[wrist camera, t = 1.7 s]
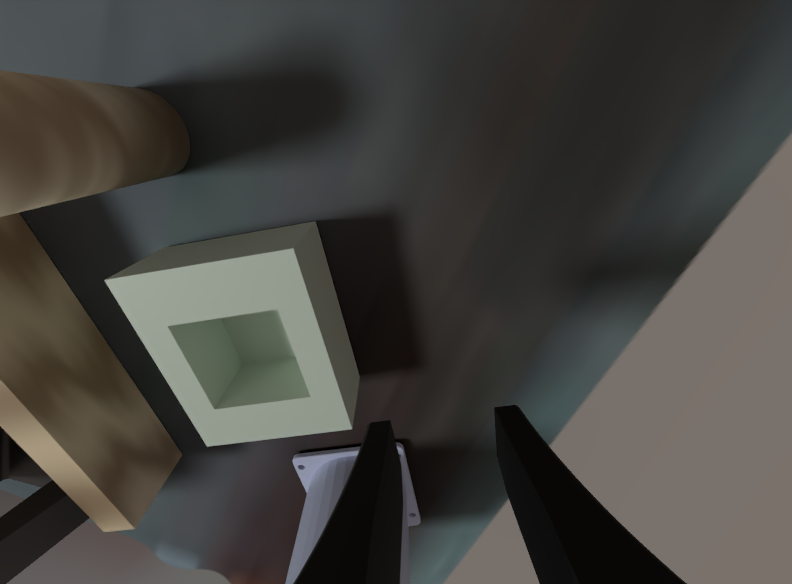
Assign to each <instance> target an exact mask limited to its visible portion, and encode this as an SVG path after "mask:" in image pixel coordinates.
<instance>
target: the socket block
mask: <svg viewBox="0 0 792 584" xmlns="http://www.w3.org/2000/svg"><path fill="white" fill-rule="evenodd" d="M104 281H105V282H106V284H107V286H108V287H109V289H110V291H111V292H112V294H113V295H114V297H115V299H116V300H117V302H118V303H119V305H120V307H121V308H122V310H123V312H124V313H125V315H126V316H127V318H128V320H129V321H130V323H131V325H132V326H133V328H134V329H135V331H136V333H137V334H138V336H139V337H140V339H141V341H142V342H143V344H144V346H145V347H146V349H147V350H148V352H149V354H150V355H151V357H152V358H153V360H154V362H155V363H156V365H157V367H158V368H159V370H160V371H161V373H162V375H163V376H164V378H165V379H166V381H167V383H168V384H169V386H170V388H171V389H172V391H173V392H174V394H175V396H176V397H177V399H178V401H179V402H180V404H181V405H182V407H183V409H184V410H185V412H186V413H187V415H188V417H189V418H190V420H191V422H192V423H193V425H194V426H195V428H196V430H197V431H198V433H199V434H200V436H201V438H202V439H203V441H204V443H205V444H206V446H207V447H209V446H217V445H226V444H234V443H242V442H250V441H258V440H267V439H275V438H283V437H291V436H300V435H308V434H316V433H324V432H332V431H341V430H349V429H352V427H353V420H354V413H355V406H356V400H357V393H358V386H359V379H360V376H359V372H358V369H357V365H356V362H355V358H354V355H353V351H352V348H351V344H350V341H349V337H348V334H347V330H346V327H345V323H344V320H343V316H342V312H341V309H340V305H339V302H338V298H337V295H336V291H335V288H334V284H333V281H332V277H331V274H330V270H329V267H328V263H327V260H326V256H325V253H324V249H323V246H322V242H321V239H320V235H319V231H318V228H317V224H316V221H314V222H308V223H303V224H297V225H291V226H285V227H279V228H274V229H268V230H262V231H256V232H251V233H245V234H239V235H233V236H228V237H222V238H216V239H210V240H205V241H199V242H193V243H187V244H181V245H176V246H170V247H164V248H163V249H161V250H159V251H157V252H155V253H153V254H152V255H150V256H148V257H146V258H144V259H142V260H140V261H139V262H137V263H135V264H133V265H131V266H129V267H127V268H126V269H124V270H122V271H120V272H118V273H116V274H114V275H113V276H111V277H109V278H107V279H105V280H104Z"/></svg>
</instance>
